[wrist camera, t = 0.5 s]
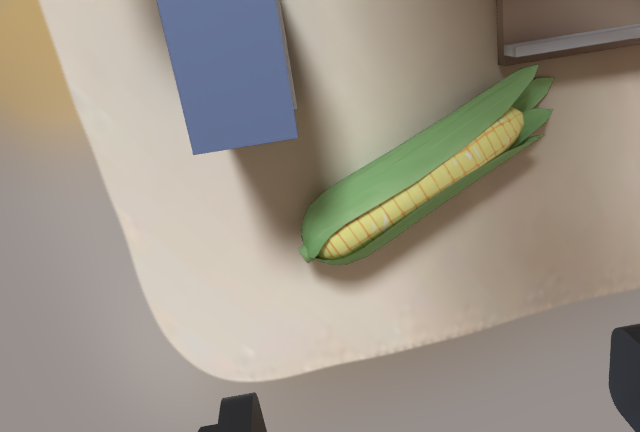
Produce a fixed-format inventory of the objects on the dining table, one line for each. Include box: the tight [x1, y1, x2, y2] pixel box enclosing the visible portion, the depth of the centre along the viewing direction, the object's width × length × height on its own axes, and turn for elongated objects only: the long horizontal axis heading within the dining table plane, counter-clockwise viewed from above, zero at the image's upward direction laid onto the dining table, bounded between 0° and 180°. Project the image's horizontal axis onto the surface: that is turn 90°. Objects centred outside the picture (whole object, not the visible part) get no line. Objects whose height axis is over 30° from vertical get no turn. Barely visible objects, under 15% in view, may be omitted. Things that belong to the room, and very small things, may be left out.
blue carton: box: [157, 0, 298, 155], centre depth 29 cm, size 5×8×10 cm, turn 8°
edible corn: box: [298, 64, 554, 265], centre depth 35 cm, size 5×20×5 cm, turn 124°
